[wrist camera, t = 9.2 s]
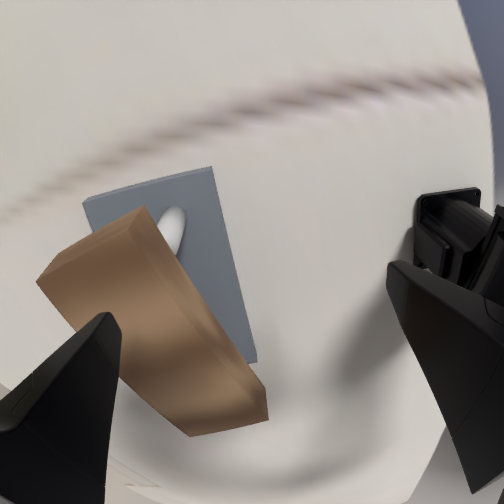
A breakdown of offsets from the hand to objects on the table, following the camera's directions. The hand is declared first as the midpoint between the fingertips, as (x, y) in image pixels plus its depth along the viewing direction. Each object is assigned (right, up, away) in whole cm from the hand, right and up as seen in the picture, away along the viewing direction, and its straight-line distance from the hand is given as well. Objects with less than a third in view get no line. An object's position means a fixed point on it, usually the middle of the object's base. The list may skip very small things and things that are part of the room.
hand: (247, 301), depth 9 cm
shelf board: (-5, -4, +10) cm, 12 cm away
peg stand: (-5, -1, +14) cm, 15 cm away
